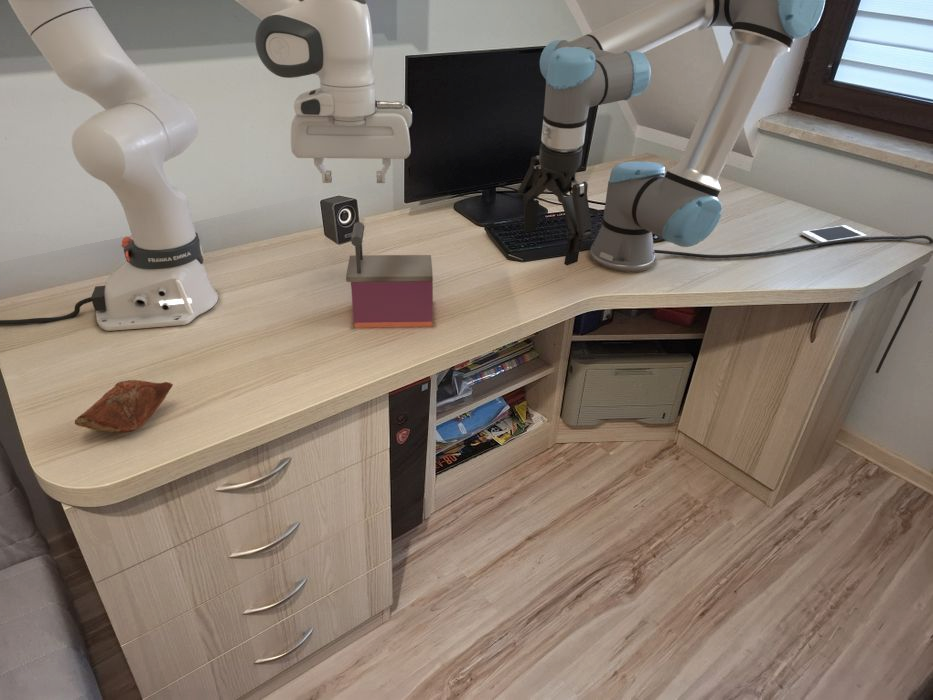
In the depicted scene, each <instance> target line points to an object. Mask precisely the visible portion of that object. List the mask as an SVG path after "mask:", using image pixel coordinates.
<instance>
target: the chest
mask: <svg viewBox="0 0 933 700" xmlns="http://www.w3.org/2000/svg"><path fill="white" fill-rule="evenodd" d="M433 281H434V280H433ZM433 281H401V282H350V286H351V287H350V288H351V302H352V316H353V328H355V329H359V328H361V329H363V328H364V329H365V328H366V329H367V328H422V327H425V328H427V327H433V326H434V321H433V320H434V311H433V310H434V309H433V308H434V307H433V306H434V305H433V304H434V303H433V302H434V299H433V298H434V294H433V291H434V288H433V286H434V285H433V283H434V282H433Z"/></svg>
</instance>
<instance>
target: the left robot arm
mask: <svg viewBox="0 0 933 700" xmlns="http://www.w3.org/2000/svg"><path fill="white" fill-rule="evenodd" d="M234 1H235V2H236V3H238V4H239V5H240V6H242V7H243V8H245V9H246V10H248V11H249V12H250V13H251V14H253V15H254V16H255V17H257V18H258V19H260V20H261V21H260V23H259V24H258V26H257V29H256V31H255V38H254V40H255V41H254V43H255V49H256V52H257V55H258V57H259V60H260V61H261V63H262V64H263V66H264V67H265V68H266V69H267V70H268V71H269V72H271V73H272V74H274V75H275V76H277V77H280V78H285V79H287V78H288V79H297V78H300V77H305V76H309V75H310V76H311V75H315V76H318V78H319V86H320V87H318V88H314V89H312V90H309V91H305V92H302V93H300V94H299V95H298V96H297V97H296V98H295V100H294V103H293V110H294V113H295V115H294V117H293V119H292V121H291V124H290V125H291V126H290V149H291V153H292V154H293V156H294V157H296V158H297V159H313V164H314V166H315V167H316V169H317V170H318V172H319V173H320V174H321V179H322V183H323V184H331V183H332V182H333V176H332V170H327V169H326V167H325V165H324V164H323V163H324V160H325V159H366V160H368V159H377V160H382V165H383V166H382V168H381V170H376V173H375V174H376V184H386V174H387V172H388V170H389V168H390V166H391V163H392V162H391V161H392V160H406V159H408V157H410V155H411V154H412V153H411V151H412V150H411V149H412V148H411V136H410V128H411V126H412V124H413V112H412V109H411V108H410V106H409V105H407V104H405V103H404V102H403V101H400V100H395V101H388V100H376V98H377V97H376V80H375V79H376V78H375V76H374V73H373V72H374V71H373V57H374V38H373V28H372V26H373V25H372V20H371V14H370V10H369V6H368V4H367V1H366V0H234ZM7 2H8V3H9V5H10V7H11V9H12V10H13V12H14V15H15V17H17V19H18V20H19V22H20V24H21V25H22V27H23V28H24V30H25V31H26V33H27V35H28V36H29V38H31V40H32V42H33V43H34V44H35V46H36V48H37V49H38V50H39V52H40V53H41V55H42V56H43V58H44V59H45V60H46V62H47V63H48V64H49V66H50V67H51V68H52V70H53V72H54V73H55V74H56V76H57V77H58V78H59V80H60V81H61V82H62V83H63V84H64V85H65V86H66V87H68V89H69V88H70V89H71V90H73V91H75V92H79V93H81V94H83V95H86V96H87V97H89V98H91V99H92V100H94V101H95V103H97V104H99V105H100V107H102V108H103V111H100V112H97V113H94V114H93V115H92V116H90V117H88V119H86V120H85V121H84V122H82V123H81V124H80V125H79V126H78V127H76V128H75V130H74V131H73V133H72V137H71V148H72V152H73V155H74V157H75V159H76V161H77V163H78V165H79V166H80V167H81V168H82V169H83V170H84V171H85V172H86V173H87V174H88V175H90V176H91V177H93V178H94V179H97V180H98V181H101V182H103V183H104V184H105V185H107V186H108V187H109V188H110V189H111V191H112V192H113V193H114V194H115V196H116V198H117V199H118V201H119V203H120V205H121V207H122V209H123V212H124V215H125V219H126V221H127V224H128V227H129V231H130V234H131V237H129V236H125V237H123V238H122V240H121V247H122V248H123V253H124V257H125V260H126V261H125V262H123V264H122V265H121V266H119V267H118V268H117V269H116V270H115V271H114V272H113V273H111V274H110V275H109V277H108V278H107V280H106V282H105V285H96V286H95V287H94V289H93V291H92V293H91V296H90V297H87V298H82V299H81V300H79V301H78V302H76V304H75V305H74V310H73V311H72V312H70V313H68V314H66V315H62V316H61V315H60V316H55V317H54V316H53V317H33V318H21V319H0V326H3V325H4V326H5V325H7V326H10V325H26V324H36V323H52V322H58V321H63V320H68V319H72V318H74V317H77V315H79V314H80V311H81V307H82V306H84V305H86V304H88V303H92V306H93V309H94V311H95V317H96V322H97V324H98V326H99V327H100V328H101V329H102V330H103V331H106V332H111V331H112V332H113V331H125V330H137V329H139V330H140V329H151V328H164V327H174V326H184V325H188V324H190V323H191V322H192V321H194V319H195V318H197V317H198V316H200V315H202V314H204V313H206V312H208V311H209V310H211V309H212V308H213V307H214V306H215V305H216V304H217V303H218V300H219V295H218V292H217V291H216V290H215V288H214V286H213V284H212V282H211V280H210V278H209V274H208V272H207V270H206V267H205V264H204V258H205V257H204V256H205V255H204V251H203V246H202V241H201V239H200V237H199V234H198V232H197V231H196V230H195V229H196V228H195V225H194V224H195V223H194V219H193V216H192V211H191V207H190V201H189V199H188V196H187V194H185V193H184V192H183V191H182V190H181V189H179V188H177V187H175V186H173V185H171V183H170V182H169V180H168V178H167V176H166V173H165V171H164V163H166V162H168V161H169V160H171V159H174V158H176V157H178V156H180V155H181V154H183V153H184V152H185V151H186V150H187V149H188V148H189V147H190V146H191V145H192V143H193V142H194V141H195V140H196V138H197V136H198V131H199V126H198V125H199V124H198V119H197V117H196V115H195V113H194V111H193V109H192V108H191V107H190V106H189V104H188V103H187V102H185V100H183V99H181V98H180V97H178V96H176V95H173V94H171V93H170V92H168V91H166V90H164V89H163V88H161V86H159V85H157V84H156V83H155V82H154V81H153V80H152V79H151V78H150V77H148V76H147V74H146V73H144V71H142V70H141V69H140V68H139V67H138V65H136V64H135V63H134V62H133V61H132V59H131V58H130V57H129V56H128V54H127V53H126V52H125V50H124V49H123V48H122V46H121V45H120V44H119V42H118V41H117V39H116V37H115V35H113V33H112V31H111V30H110V28H109V27H108V26H107V25H106V22H105V21H104V20H103V17H102V16H101V15H100V14H99V12H98V11H97V9H96V7H95V6H94V5H93V2H92V1H91V0H7Z"/></svg>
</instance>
